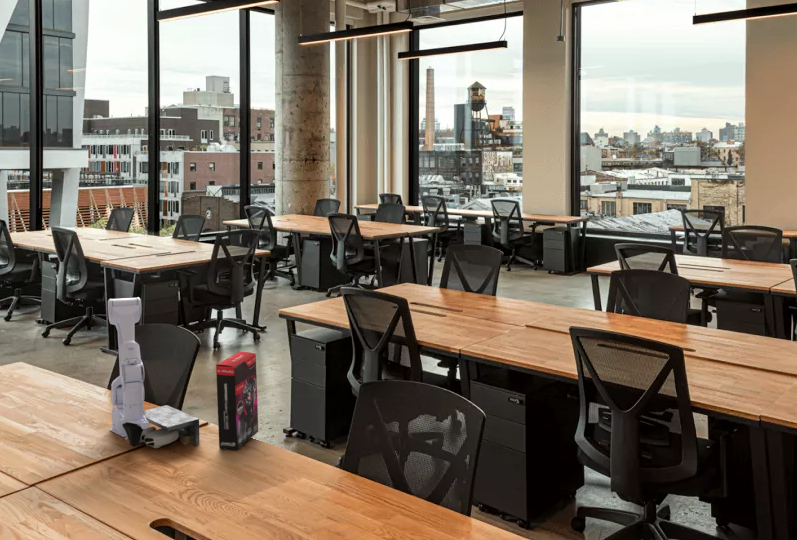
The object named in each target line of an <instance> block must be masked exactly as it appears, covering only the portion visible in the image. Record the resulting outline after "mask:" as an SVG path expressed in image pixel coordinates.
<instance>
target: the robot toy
mask: <svg viewBox="0 0 797 540" xmlns="http://www.w3.org/2000/svg"><path fill="white" fill-rule="evenodd" d="M181 430H184V429H181ZM181 430H177V429H174V430H170V431H166V430H164V429H162V428H158V429H157V428H156V426H149V428H146V429H143V432H142V434H141V438H140V442H139V443H142V442H144V444H145V445H146V446H147V447H151V448H153V449H159V448H161V447H162V446H166V445H169V444H171V443H173V442H175V441H176V440H178V439H179V438H180V437H179V431H181ZM124 440H125V441H129V439H128V436H126V437H124Z"/></svg>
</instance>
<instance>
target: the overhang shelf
mask: <svg viewBox="0 0 797 540" xmlns="http://www.w3.org/2000/svg"><path fill="white" fill-rule="evenodd" d="M143 411H144V416H145V418H146V420H147V421H149V424H151V425H154V427H157V428H159V429H164V430H166V431H170V430H174V429H177V430H181V429H184V430H181V431H179V437H178V438H179V442H180V443H182V444H184V445H187V444H190V443H191V444H192V445H196V446H198V445H200V441H201V440H200V418H198V417H196V416H194V415H192V414H188V413H187V412H184V411H181V410H180V409H177V408H175V407H173V406H171V405H167V404H166V405H162V406H161V405H160V406H158V407H153V408H150V409H144V410H143Z"/></svg>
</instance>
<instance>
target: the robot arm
mask: <svg viewBox="0 0 797 540" xmlns="http://www.w3.org/2000/svg"><path fill="white" fill-rule="evenodd" d="M107 314H108V321H109V324H110V325H114V326H115V328H116V330H117V343H118V360H119V361H118V363H119V364H118V365H119V376H117V377H116V378H115V379H113V381H112V383H111V384H110V385H111V388H110V389H111V391H110V394H111V404H112V406H113V407H112V409H111V424H112V426H111V428H109V430H110V431H111V432H113V433H114V434H117V435H118V436H121V437H123V438H126V437H127V436H128V439H129V440H128V442H129V445H130V447H131V448H134V447H138V446H140V443H141V442H140V438H141V434H142V432H143V429H146V428H149V427H150V423H149V421H147V420H146V418H145V416H144V411H145V410H144V402H145V386H144V382H145V366H144V363H143V360H142V359H141V358H142V357H141V356H142V355H141V350H140V349H141V348H140V344H139V343H138V342H137V341H135V340H136V337H135V335H136V334H135V332H136V331H135V330H136V329H135V326H136V325H135V324H137V323H138V322H139V321H140V319H141V315H142V299H141V298H140V297H139V296H137V297H126V298H109V299H108V300H107Z"/></svg>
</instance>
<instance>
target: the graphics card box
mask: <svg viewBox="0 0 797 540" xmlns="http://www.w3.org/2000/svg"><path fill="white" fill-rule="evenodd" d="M215 370H216V397H217V421H218V423H217V424H218V426H217V427H218V448H219V449H220V450H227V451H228V450H229V451H238V450H240V448H242V447H243V446H244V445H245V444H246V443H247V442H248V441H250V439H252V438H253V437H254V436H255V435H256V434H257V433H258V432H259V413H258V412H259V410H258V409H259V408H258V380H257V379H258V378H257V376H258V375H257V354H256V353H255V352H250V351H239V350H238V351H237V352H236V353H234V354H233V355H230V356H229V357H227V358H226V359H224V360H222V361H220V362H218V363H216V366H215Z"/></svg>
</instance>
